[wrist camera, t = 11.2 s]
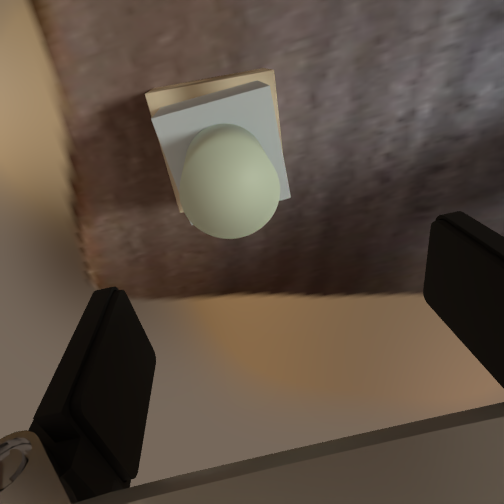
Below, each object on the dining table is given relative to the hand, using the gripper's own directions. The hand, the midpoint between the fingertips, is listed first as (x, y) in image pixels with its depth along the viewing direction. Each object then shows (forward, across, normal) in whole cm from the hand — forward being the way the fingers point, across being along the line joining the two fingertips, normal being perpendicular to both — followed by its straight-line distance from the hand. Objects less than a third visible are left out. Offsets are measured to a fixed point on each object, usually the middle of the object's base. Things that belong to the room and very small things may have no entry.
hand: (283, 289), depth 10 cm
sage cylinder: (+13, +1, 0) cm, 13 cm away
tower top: (+18, +1, -1) cm, 18 cm away
